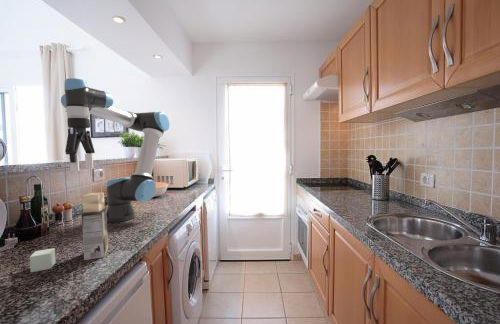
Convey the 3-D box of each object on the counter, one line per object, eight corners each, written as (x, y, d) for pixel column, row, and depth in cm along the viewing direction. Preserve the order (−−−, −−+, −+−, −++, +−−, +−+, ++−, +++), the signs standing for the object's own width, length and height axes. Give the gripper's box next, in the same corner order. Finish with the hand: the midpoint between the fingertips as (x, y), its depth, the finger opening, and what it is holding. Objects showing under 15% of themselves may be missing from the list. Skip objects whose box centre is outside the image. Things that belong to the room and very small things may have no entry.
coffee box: (89, 251, 90) (86, 208, 89) (108, 247, 92) (106, 206, 92) (83, 260, 82) (80, 214, 81) (104, 257, 84) (102, 212, 83)
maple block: (89, 209, 88) (89, 193, 88) (104, 208, 89) (103, 192, 89) (83, 212, 83) (82, 195, 83) (99, 211, 84) (98, 194, 84)
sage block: (36, 265, 79) (35, 251, 79) (55, 262, 81) (54, 248, 81) (30, 272, 74) (29, 256, 74) (50, 268, 77) (49, 253, 76)
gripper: (81, 121, 109) (85, 167, 110) (50, 113, 85) (55, 173, 86) (100, 121, 111) (103, 166, 112) (74, 113, 86) (79, 171, 88)
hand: (82, 169), depth 99 cm, fingers open, 13 cm apart
